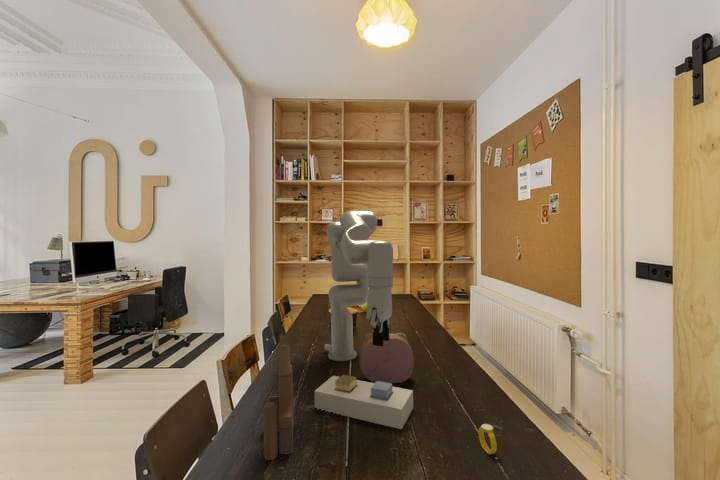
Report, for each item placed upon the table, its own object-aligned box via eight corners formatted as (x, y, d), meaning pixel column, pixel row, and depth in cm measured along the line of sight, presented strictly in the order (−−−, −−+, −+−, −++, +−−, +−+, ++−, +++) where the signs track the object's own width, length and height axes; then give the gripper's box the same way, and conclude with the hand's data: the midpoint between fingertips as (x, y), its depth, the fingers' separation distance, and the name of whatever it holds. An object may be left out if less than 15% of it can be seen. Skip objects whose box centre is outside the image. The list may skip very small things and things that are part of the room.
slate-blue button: (371, 397, 97) (370, 387, 97) (377, 389, 102) (376, 380, 102) (386, 400, 95) (386, 391, 95) (392, 392, 100) (392, 383, 100)
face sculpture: (411, 375, 124) (411, 331, 124) (415, 383, 117) (414, 337, 117) (359, 377, 124) (358, 333, 123) (359, 385, 117) (359, 339, 116)
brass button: (335, 389, 102) (335, 381, 102) (342, 383, 107) (342, 374, 107) (349, 392, 100) (349, 383, 100) (356, 385, 105) (356, 377, 105)
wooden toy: (269, 425, 93) (268, 337, 93) (293, 422, 94) (292, 336, 94) (263, 462, 78) (261, 358, 77) (292, 458, 79) (290, 355, 79)
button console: (314, 408, 102) (314, 391, 101) (333, 391, 112) (333, 375, 112) (401, 429, 90) (401, 409, 90) (413, 408, 101) (412, 390, 101)
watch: (476, 445, 84) (475, 421, 84) (486, 443, 84) (485, 419, 84) (489, 459, 78) (488, 433, 78) (500, 457, 78) (498, 431, 78)
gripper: (378, 278, 107) (379, 333, 108) (357, 285, 92) (358, 350, 92) (400, 279, 104) (401, 336, 105) (382, 287, 89) (383, 354, 89)
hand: (381, 342), depth 98 cm, fingers open, 4 cm apart
